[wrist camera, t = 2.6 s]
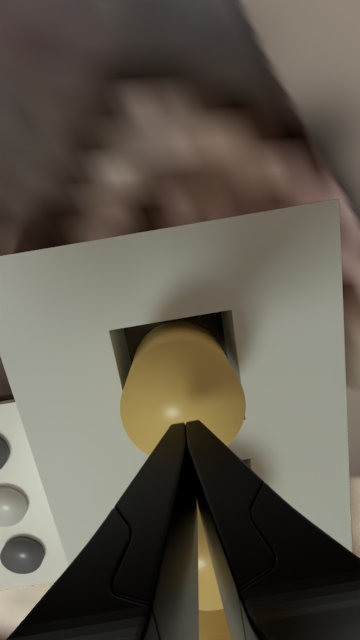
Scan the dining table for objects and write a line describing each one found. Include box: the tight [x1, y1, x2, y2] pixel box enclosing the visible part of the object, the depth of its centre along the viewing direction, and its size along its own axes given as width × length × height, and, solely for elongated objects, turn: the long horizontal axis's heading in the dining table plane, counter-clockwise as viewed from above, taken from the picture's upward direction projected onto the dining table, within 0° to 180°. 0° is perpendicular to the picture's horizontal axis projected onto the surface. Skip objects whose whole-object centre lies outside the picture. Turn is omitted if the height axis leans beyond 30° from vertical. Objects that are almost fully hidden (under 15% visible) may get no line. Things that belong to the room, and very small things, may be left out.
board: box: [0, 199, 352, 565], centre depth 15 cm, size 14×26×3 cm, turn 9°
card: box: [0, 399, 69, 591], centre depth 16 cm, size 5×12×1 cm, turn 9°
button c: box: [199, 609, 231, 640], centre depth 15 cm, size 4×4×4 cm
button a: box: [120, 321, 246, 455], centre depth 12 cm, size 4×4×4 cm
